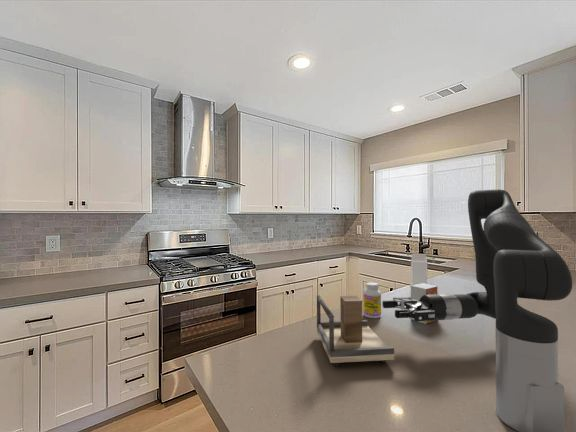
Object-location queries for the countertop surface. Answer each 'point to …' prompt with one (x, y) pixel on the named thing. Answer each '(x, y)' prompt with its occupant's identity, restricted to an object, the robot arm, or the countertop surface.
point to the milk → (418, 269)
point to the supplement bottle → (372, 300)
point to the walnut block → (351, 319)
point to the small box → (422, 293)
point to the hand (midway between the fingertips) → (388, 308)
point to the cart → (349, 352)
